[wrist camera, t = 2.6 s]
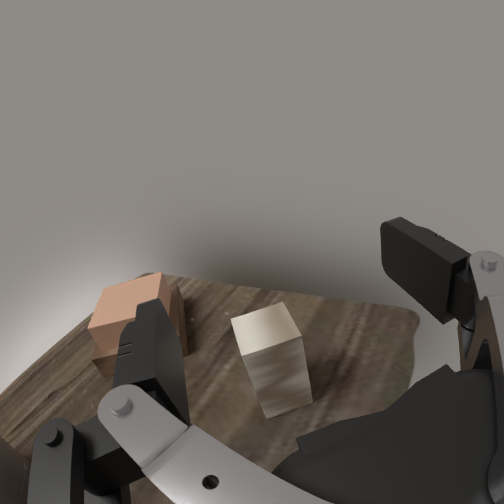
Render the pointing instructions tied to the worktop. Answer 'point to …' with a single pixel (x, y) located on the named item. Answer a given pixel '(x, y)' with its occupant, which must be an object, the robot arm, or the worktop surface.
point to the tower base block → (177, 316)
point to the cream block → (274, 359)
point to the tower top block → (125, 307)
